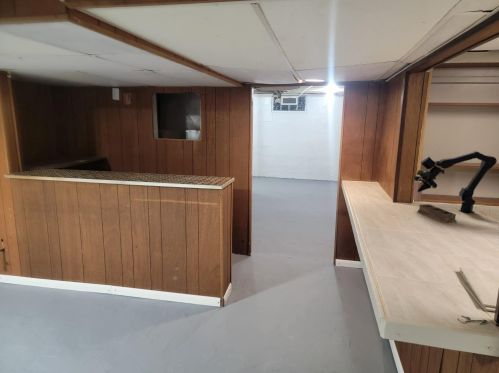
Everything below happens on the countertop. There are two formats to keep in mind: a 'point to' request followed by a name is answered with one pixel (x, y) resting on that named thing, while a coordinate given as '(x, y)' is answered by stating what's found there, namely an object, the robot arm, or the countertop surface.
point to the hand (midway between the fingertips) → (415, 190)
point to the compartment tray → (437, 213)
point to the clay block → (415, 192)
